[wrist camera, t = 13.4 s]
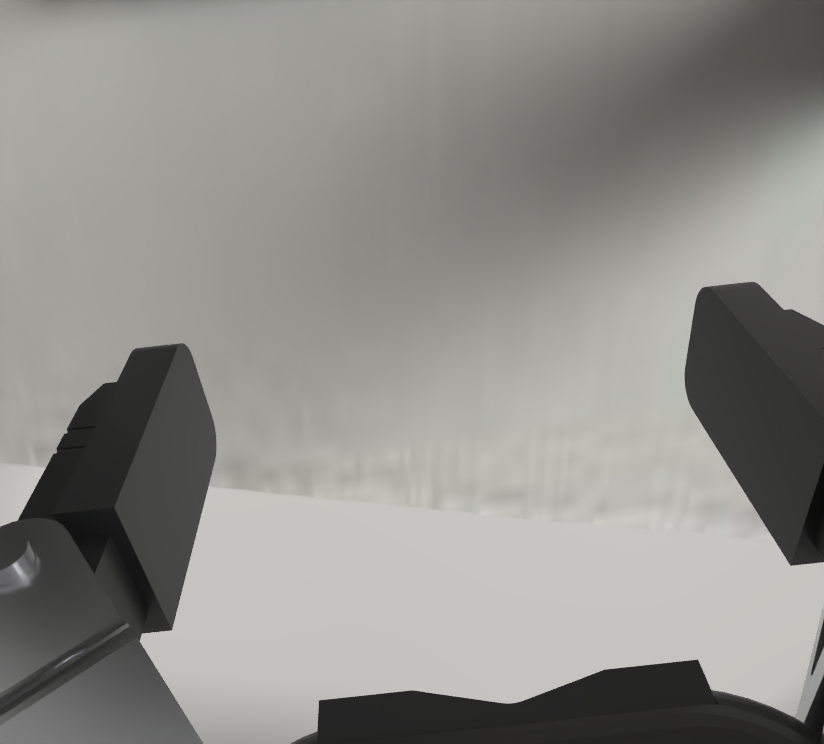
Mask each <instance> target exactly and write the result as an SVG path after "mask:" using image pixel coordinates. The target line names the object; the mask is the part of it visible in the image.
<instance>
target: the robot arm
mask: <svg viewBox="0 0 824 744" xmlns="http://www.w3.org/2000/svg"><path fill="white" fill-rule="evenodd" d="M685 388H686V393H687V397H688V400H689V403H690V405H691V407H692V409H693V411H694V413H695V414H696V416H697V417H698V419H699V420H700V422H701V424H702V425H703V427H704V428H705V430H706V432H707V433H708V435H709V436H710V438H711V440H712V441H713V443H714V444H715V446H716V448H717V449H718V451H719V452H720V454H721V456H722V457H723V459H724V460H725V462H726V463H727V465H728V467H729V468H730V470H731V471H732V473H733V475H734V476H735V478H736V479H737V481H738V483H739V484H740V486H741V487H742V489H743V491H744V492H745V494H746V495H747V497H748V498H749V500H750V502H751V503H752V505H753V506H754V508H755V510H756V511H757V513H758V514H759V516H760V518H761V519H762V521H763V522H764V524H765V526H766V527H767V529H768V530H769V532H770V533H771V535H772V537H773V538H774V540H775V541H776V543H777V545H778V546H779V548H780V549H781V551H782V553H783V554H784V556H785V557H786V559H787V561H788V562H789V564H790V565H791V566H792V565H801V564H810V563H818V562H824V325H822V324H820V323H818V322H816V321H814V320H812V319H810V318H808V317H806V316H804V315H802V314H800V313H798V312H796V311H794V310H792V309H790V310H783V309H782V308H781V307H780V306H779V305H778V304H777V303H776V302H775V301H774V300H773V299H772V298H771V297H770V296H769V295H768V293H767V292H766V291H765V290H764V289H763V288H762V287H761V286H760V285H758V284H757V283H755V282H746V283H737V284H728V285H719V286H710V287H704V288H702V289H701V290H700V291H699V293H698V295H697V298H696V303H695V309H694V315H693V321H692V328H691V334H690V341H689V347H688V354H687V360H686V366H685ZM67 431H68V433H67V434H64V436H63V437H62V439H61V441H60V443H59V445H58V447H57V453H56V454H53V456H52V458H51V460H50V462H49V463H48V465H47V467H46V469H45V471H44V473H43V475H42V476H41V479H40V480H39V482H38V484H37V486H36V488H35V489H34V491H33V493H32V495H31V497H30V499H29V501H28V502H27V504H26V506H25V508H24V510H23V512H22V514H21V515H20V517H19V519H18V521H15V522H12V523H9V524H6V525H3V526H1V527H0V744H203V742H202V741H201V739H200V738H199V736H198V734H197V733H196V731H195V730H194V728H193V726H192V725H191V723H190V722H189V720H188V718H187V717H186V715H185V714H184V712H183V710H182V709H181V707H180V706H179V704H178V702H177V701H176V700H175V697H174V696H173V694H172V693H171V691H170V690H169V688H168V686H167V685H166V683H165V681H164V680H163V678H162V677H161V675H160V673H159V672H158V670H157V669H156V667H155V665H154V664H153V662H152V661H151V659H150V658H149V656H148V654H147V653H146V651H145V649H144V648H143V646H142V645H141V643H140V638H141V634H142V633H150V632H159V631H169V630H172V627H173V624H174V620H175V616H176V612H177V608H178V604H179V600H180V596H181V592H182V588H183V584H184V580H185V576H186V572H187V568H188V565H189V560H190V556H191V553H192V548H193V545H194V541H195V537H196V533H197V529H198V525H199V521H200V517H201V513H202V509H203V505H204V501H205V497H206V493H207V490H208V486H209V482H210V478H211V474H212V470H213V466H214V462H215V457H216V433H215V427H214V422H213V419H212V415H211V412H210V409H209V406H208V403H207V400H206V397H205V394H204V391H203V388H202V385H201V382H200V378H199V375H198V372H197V369H196V366H195V363H194V360H193V357H192V354H191V352H190V350H189V348H188V347H187V346H186V345H185V344H183V343H181V344H172V345H162V346H153V347H144V348H136V349H134V350H133V351H132V353H131V354H130V356H129V358H128V361H127V363H126V365H125V367H124V369H123V371H122V373H121V375H120V377H119V379H118V381H117V382H114V383H105V384H103V385H102V386H101V387H100V388H99V389H97V390H96V391H95V392H94V393H93V394H92V395H91V396H90V397H89V398H87V399H86V400H85V401H84V402H83V403H82V404H81V405H80V406H79V408H78V410H77V411H76V413H75V415H74V417H73V419H72V421H71V423H70V424H69V426H68V428H67ZM291 744H824V605H823V610H822V614H821V618H820V622H819V626H818V630H817V634H816V639H815V642H814V647H813V651H812V655H811V659H810V663H809V667H808V671H807V676H806V680H805V684H804V688H803V692H802V696H801V699H800V703H799V707H798V710H797V713H796V716H795V718H794V717H792V716H790V715H787V714H785V713H783V712H781V711H779V710H777V709H775V708H773V707H770V706H767V705H765V704H762V703H759V702H756V701H754V700H751V699H748V698H744V697H740V696H737V695H733V694H729V693H725V692H719V691H713V690H711V689H710V687H709V684H708V682H707V679H706V677H705V675H704V673H703V670H702V668H701V666H700V664H699V661H698V660H691V661H682V662H673V663H663V664H654V665H645V666H636V667H626V668H617V669H608V670H603V671H600V672H598V673H595V674H592V675H590V676H587V677H585V678H582V679H580V680H577V681H575V682H572V683H569V684H566V685H564V686H561V687H558V688H556V689H553V690H551V691H548V692H545V693H543V694H540V695H538V696H535V697H532V698H530V699H527V700H524V701H522V702H518V703H512V704H504V703H496V702H489V701H482V700H475V699H468V698H461V697H453V696H447V695H439V694H433V693H425V692H419V691H404V692H394V693H385V694H376V695H366V696H357V697H348V698H338V699H329V700H320V701H319V714H318V731H317V732H315V733H313V734H310V735H307V736H305V737H303V738H301V739H299V740H297V741H295V742H293V743H291Z"/></svg>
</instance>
